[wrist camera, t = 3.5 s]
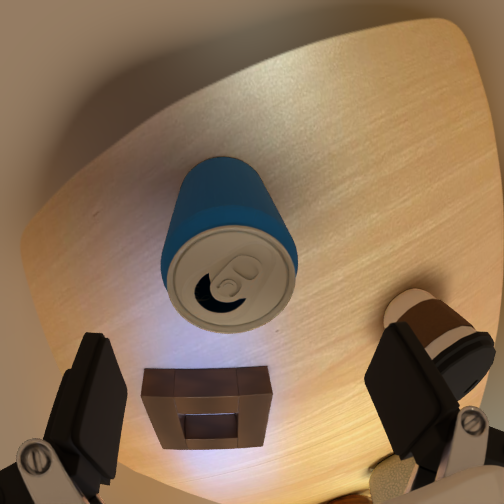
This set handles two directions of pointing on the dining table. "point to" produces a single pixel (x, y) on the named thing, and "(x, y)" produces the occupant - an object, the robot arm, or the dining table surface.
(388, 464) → the planter
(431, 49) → the dining table surface
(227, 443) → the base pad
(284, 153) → the dining table surface
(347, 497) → the bowl
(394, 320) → the coffee cup
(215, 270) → the beverage can
